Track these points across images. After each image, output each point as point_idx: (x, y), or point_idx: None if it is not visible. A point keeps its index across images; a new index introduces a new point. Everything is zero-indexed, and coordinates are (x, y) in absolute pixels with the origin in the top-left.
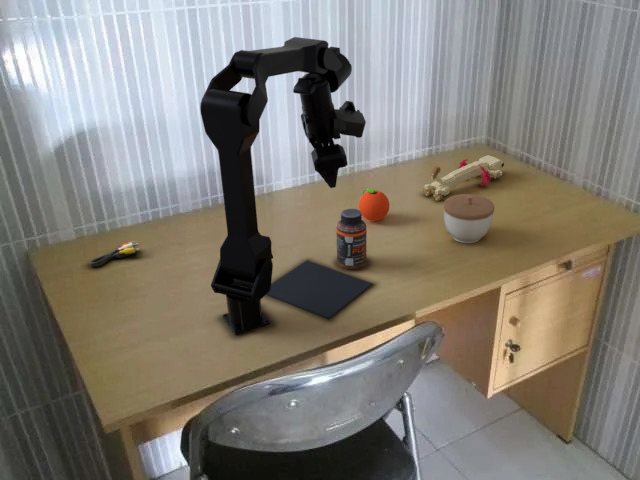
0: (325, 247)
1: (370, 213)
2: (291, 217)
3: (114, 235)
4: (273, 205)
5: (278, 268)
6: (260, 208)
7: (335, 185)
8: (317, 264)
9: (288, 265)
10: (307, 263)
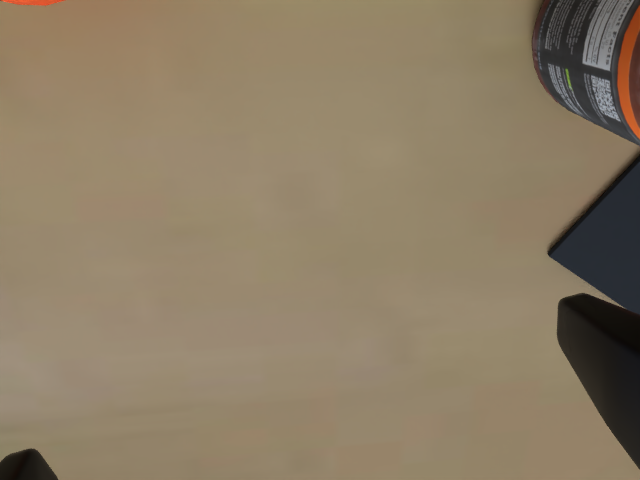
0: (416, 179)
1: None
2: (117, 343)
3: None
4: (15, 417)
5: None
6: (55, 457)
7: (605, 305)
8: (600, 209)
9: None
10: (580, 252)
